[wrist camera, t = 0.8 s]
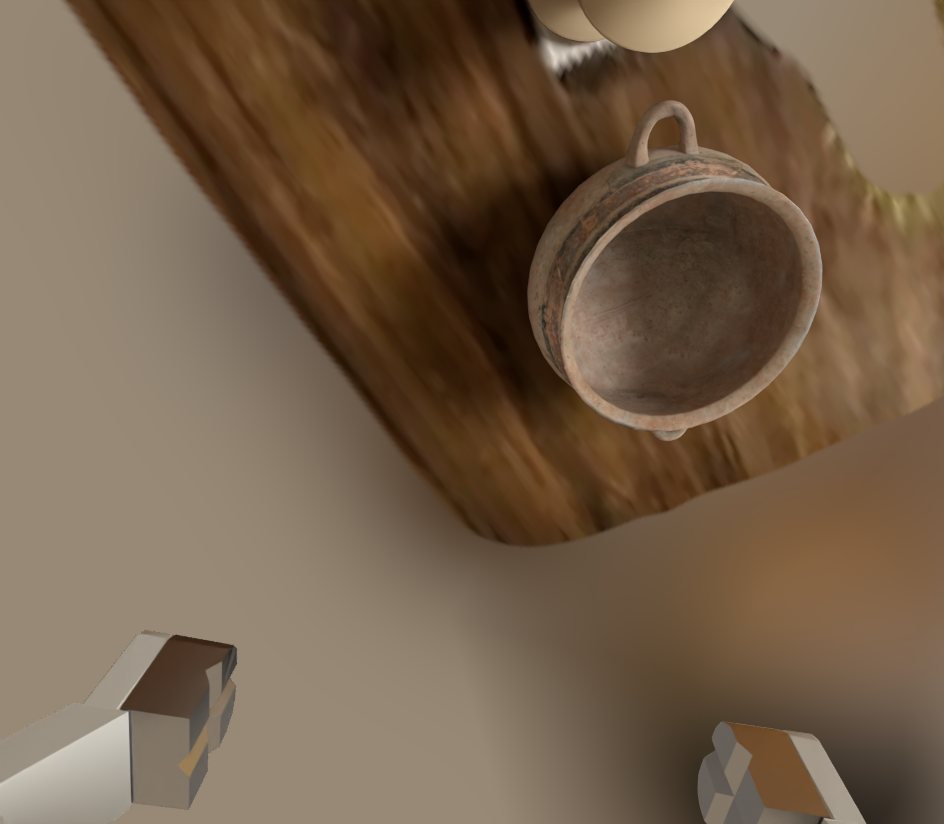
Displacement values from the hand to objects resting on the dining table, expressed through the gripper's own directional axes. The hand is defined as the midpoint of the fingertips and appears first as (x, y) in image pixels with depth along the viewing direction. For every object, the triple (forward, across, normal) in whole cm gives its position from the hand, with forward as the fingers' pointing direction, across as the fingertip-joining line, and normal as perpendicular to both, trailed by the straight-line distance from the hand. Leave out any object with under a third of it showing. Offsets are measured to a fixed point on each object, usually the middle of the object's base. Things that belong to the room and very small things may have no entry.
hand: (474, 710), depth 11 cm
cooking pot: (+45, -10, -4) cm, 46 cm away
